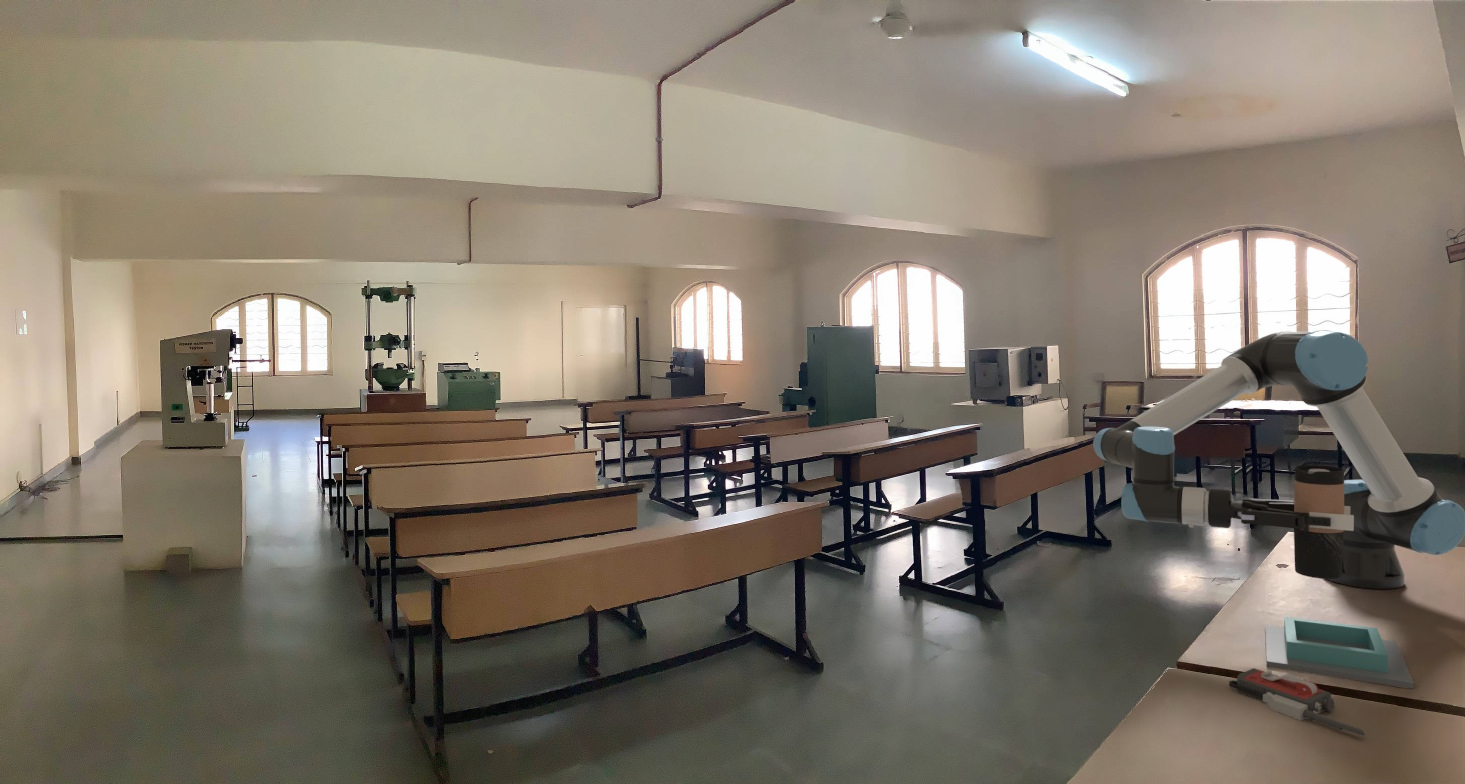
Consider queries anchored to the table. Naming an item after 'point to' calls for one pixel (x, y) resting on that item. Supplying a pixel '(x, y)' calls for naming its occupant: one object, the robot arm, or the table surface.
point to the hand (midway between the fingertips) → (1351, 518)
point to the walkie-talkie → (1289, 696)
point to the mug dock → (1336, 652)
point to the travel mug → (1319, 546)
